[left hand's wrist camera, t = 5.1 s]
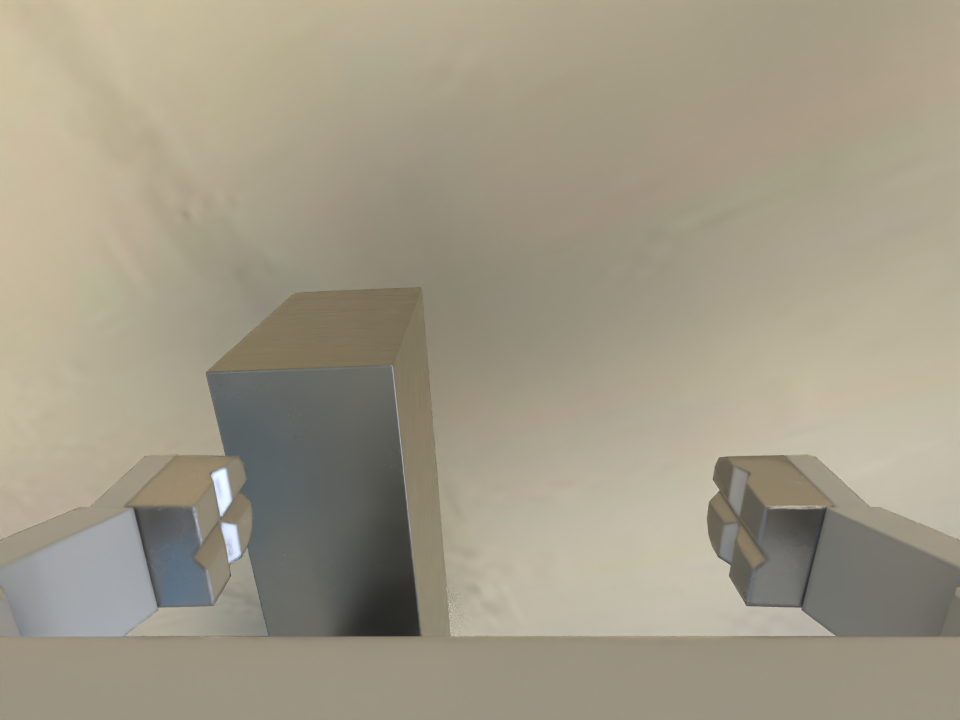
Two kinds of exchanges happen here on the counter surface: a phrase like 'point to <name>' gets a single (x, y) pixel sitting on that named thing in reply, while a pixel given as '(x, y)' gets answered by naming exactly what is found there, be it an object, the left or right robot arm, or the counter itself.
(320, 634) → the bar
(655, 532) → the counter surface
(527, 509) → the counter surface
